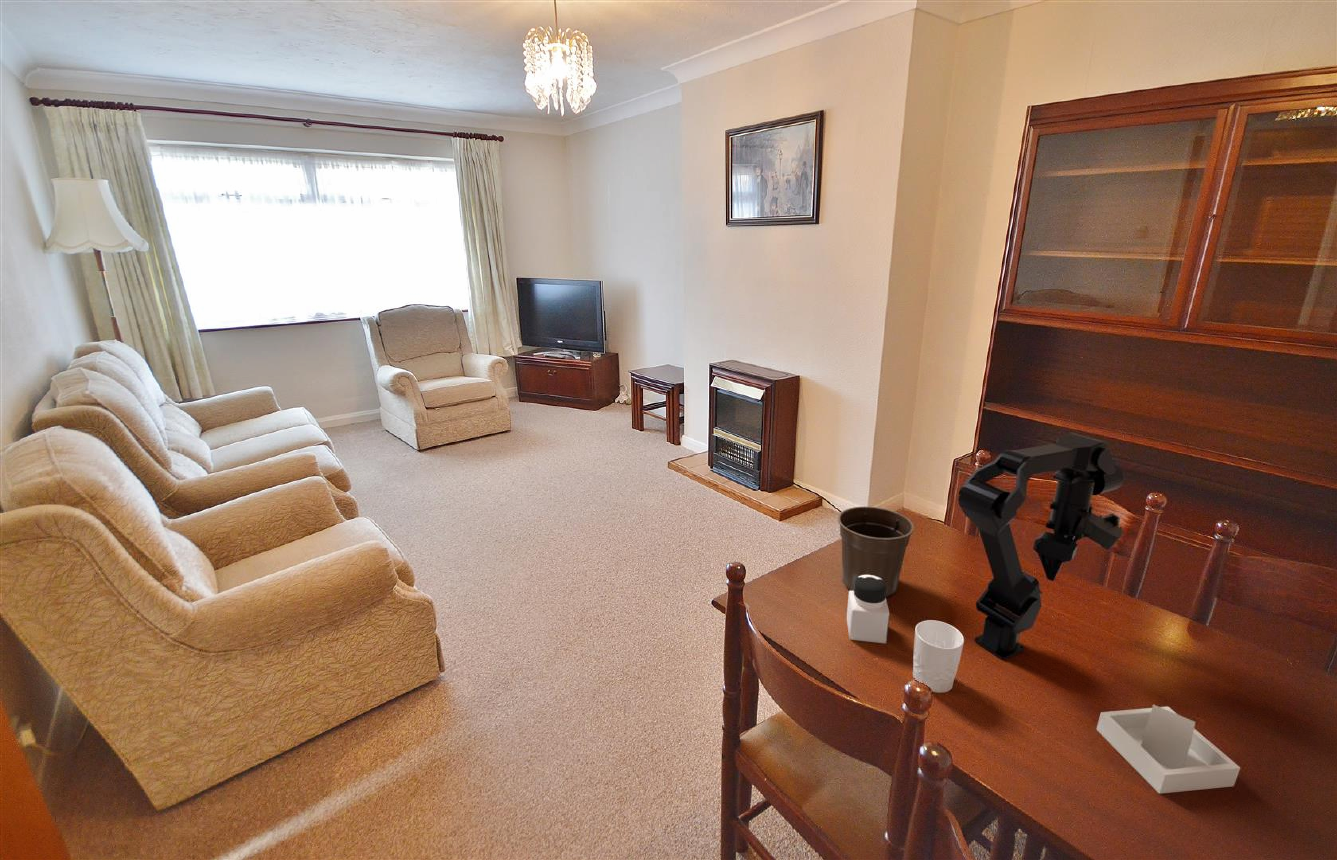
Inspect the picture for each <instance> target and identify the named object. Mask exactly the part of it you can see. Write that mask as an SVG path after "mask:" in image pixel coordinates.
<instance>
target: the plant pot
mask: <svg viewBox="0 0 1337 860" xmlns="http://www.w3.org/2000/svg"><path fill="white" fill-rule="evenodd" d="M837 521H838V524H839V528H840V529H839V532H840V533H839V535H840V538H841V579H842V581H843V583H844V587H846V588H847V589H848V590H849V591H854V585H855V579H856V578H857V577H859V576H861V575H873V576H877V577H879V578H881V579H882V580H883V581H884V582H885V583H886V585H887V588H886V597H889V596H891V595H893V594H895V592H896V591H897V589H898V584H899V580H900V575H901V571H902V567H903V563H904V558H905V555H906V550H907V547H908V546H909V543H910V539H911V535H912V534H913V533H914V531H915V525H914V523H913V522H912V520H911V519H909V518H908V517H907V516H905V515H903V514H901V513H900V512H897V511H895V510H892V509H888V508H882V507H877V506H876V507H875V506H855V507H850V508H846V509H845V510H843V511H841V512H840V513H839V514H838V517H837Z"/></svg>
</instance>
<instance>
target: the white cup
mask: <svg viewBox="0 0 1337 860" xmlns="http://www.w3.org/2000/svg"><path fill="white" fill-rule="evenodd" d="M964 643H965V637H964V636H963V634H962V632H961V631H960V630H959V629H957V628H956V627H955V626H953V625H951V624H948V623H947V622H944V621H940V620H933V619H932V620H931V619H927V620H924V621H923V620H922V621H921V622H920V621H919V622H918V623H917V624H916V625H915V630H914V642H913V657H912V658H913V662H912V663H913V665H912V666H913V669H912V677H913V679H914V678H915V679H914V681H915V680H917V681H919V682H921V683H924V684H925V685H927V686H928V687H930V688H931V689H932V691H933V692H932V691H931V692H932V693H938V694H941V693H947V692H949V691H950V690H951V689H953V685H954V680H955V678H956V676H957V672H958V668H959V664H960V661H961V657H962V653H963V648H964Z"/></svg>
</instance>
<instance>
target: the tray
mask: <svg viewBox="0 0 1337 860" xmlns="http://www.w3.org/2000/svg"><path fill="white" fill-rule="evenodd" d="M1160 707H1161V708H1163V709H1165V710H1168V711H1170V712H1173V713H1175V714H1177V715H1179V714H1178V713H1177V712H1175V711H1174V710H1173V709H1172V708H1171V707H1169V706H1160ZM1151 710H1152V707H1146V708H1135V709H1134V708H1133V709H1125V710H1114V711H1113V710H1112V711H1103V712H1102V711H1101V712H1100V713H1099V714H1100V715H1099V718H1098V721H1097V726H1096V731H1097V732H1098V733H1099V734H1100V735H1101V736H1102V737H1103V738H1104V739H1105V740H1106V741H1107V742H1108V743H1109V744H1110V745H1111V746H1112V747H1113V749H1115V750H1116V751H1117V752H1118V753H1119V754H1120V755H1121V756H1122V757H1123V758H1124V759H1125V761H1127V762H1128V764H1130V766H1132V768H1133V769H1135V771H1136V772H1137V773H1138V774H1140V776H1141V777H1142V778H1143V779H1144V780H1146V782H1147V783H1148V784H1149V785H1150V786H1151V787H1152V788H1153V789H1154V790H1155V791H1156V792H1157V793H1158V794H1170V793H1180V792H1188V791H1199V790H1209V789H1220V788H1229V787H1230V788H1231V787H1234V786H1235V784H1236V781H1237V779H1238V776H1239V774H1240V773H1239V772H1240V770H1241V767H1240V766H1239V765H1238V764H1237V763H1235V761H1234V760H1232V759H1231V758H1230V757H1228V756H1227V755H1226V754H1225V753H1224V752H1223V751H1221V750H1220V749H1219V748H1218V747H1216V745H1214V744H1213V743H1212V742H1211V741H1210V740H1208V738H1206V737H1204V736H1203V735H1202V734H1201V733H1200V732H1199V731H1198V730H1197V729H1195V728H1194V732H1193V737H1192V742H1191V745H1190V748H1189V751H1188V754H1187V757H1186V760H1185V763H1184V766H1183V768H1179V769H1171V768H1169V767H1167V766H1165V765H1163V764H1161V763H1158V762H1157V761H1156V760H1155V759H1154V758H1153V757H1152V756H1151V755H1150V754H1149V753H1148V752H1147V751H1146V750H1144V749H1143V748H1142V747H1141V744H1142V741H1143V737H1144V734H1145V730H1146V727H1147V724H1148V720H1149V717H1150V714H1151Z"/></svg>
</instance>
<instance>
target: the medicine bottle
mask: <svg viewBox="0 0 1337 860" xmlns="http://www.w3.org/2000/svg"><path fill="white" fill-rule="evenodd" d="M886 588H887V585H886V583H885V582H884V581H883V580H882V579H881V578H879V577H877V576H873V575H861V576H859V577H857V578H856V579H855V585H854V591H851V590H849V591H848V596H847V597H848V598H847V599H848V600H847V609H846V624H847V630H848V638H849V640H851V641H858V642H859V641H861V642H869V643H870V642H871V643H877V644H887V641H888V634H889V624H890V615H891V614H890V611H889V606H888V602H887V596H886Z"/></svg>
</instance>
